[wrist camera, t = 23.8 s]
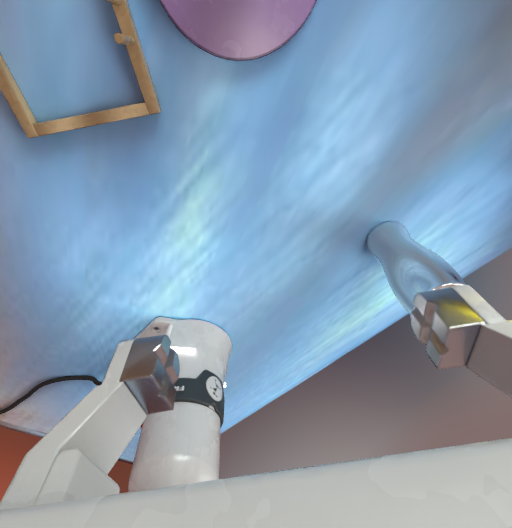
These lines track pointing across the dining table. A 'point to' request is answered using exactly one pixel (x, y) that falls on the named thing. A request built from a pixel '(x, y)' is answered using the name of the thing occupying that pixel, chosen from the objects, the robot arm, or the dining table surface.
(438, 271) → the beer glass
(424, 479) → the robot arm
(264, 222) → the dining table surface
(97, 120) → the drying rack
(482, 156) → the dining table surface
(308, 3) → the purple disc candle holder
